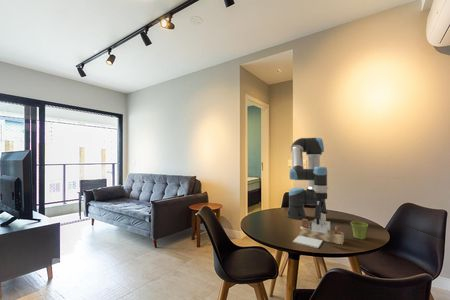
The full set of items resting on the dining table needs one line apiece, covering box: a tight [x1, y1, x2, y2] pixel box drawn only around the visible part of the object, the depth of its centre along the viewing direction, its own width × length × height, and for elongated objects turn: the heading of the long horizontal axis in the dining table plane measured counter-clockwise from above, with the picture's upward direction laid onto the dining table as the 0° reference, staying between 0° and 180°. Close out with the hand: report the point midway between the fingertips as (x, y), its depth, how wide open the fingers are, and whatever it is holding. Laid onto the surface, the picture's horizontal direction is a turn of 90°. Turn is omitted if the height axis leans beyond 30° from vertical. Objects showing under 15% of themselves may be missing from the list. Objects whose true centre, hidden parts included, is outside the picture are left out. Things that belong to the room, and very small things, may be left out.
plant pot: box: [350, 221, 369, 240], centre depth 136 cm, size 9×9×9 cm
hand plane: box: [299, 218, 345, 246], centre depth 135 cm, size 24×6×10 cm, turn 54°
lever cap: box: [312, 218, 331, 234], centre depth 135 cm, size 9×8×6 cm
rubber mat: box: [292, 235, 324, 249], centre depth 129 cm, size 14×11×1 cm
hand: (320, 226), depth 134 cm, fingers open, 13 cm apart
